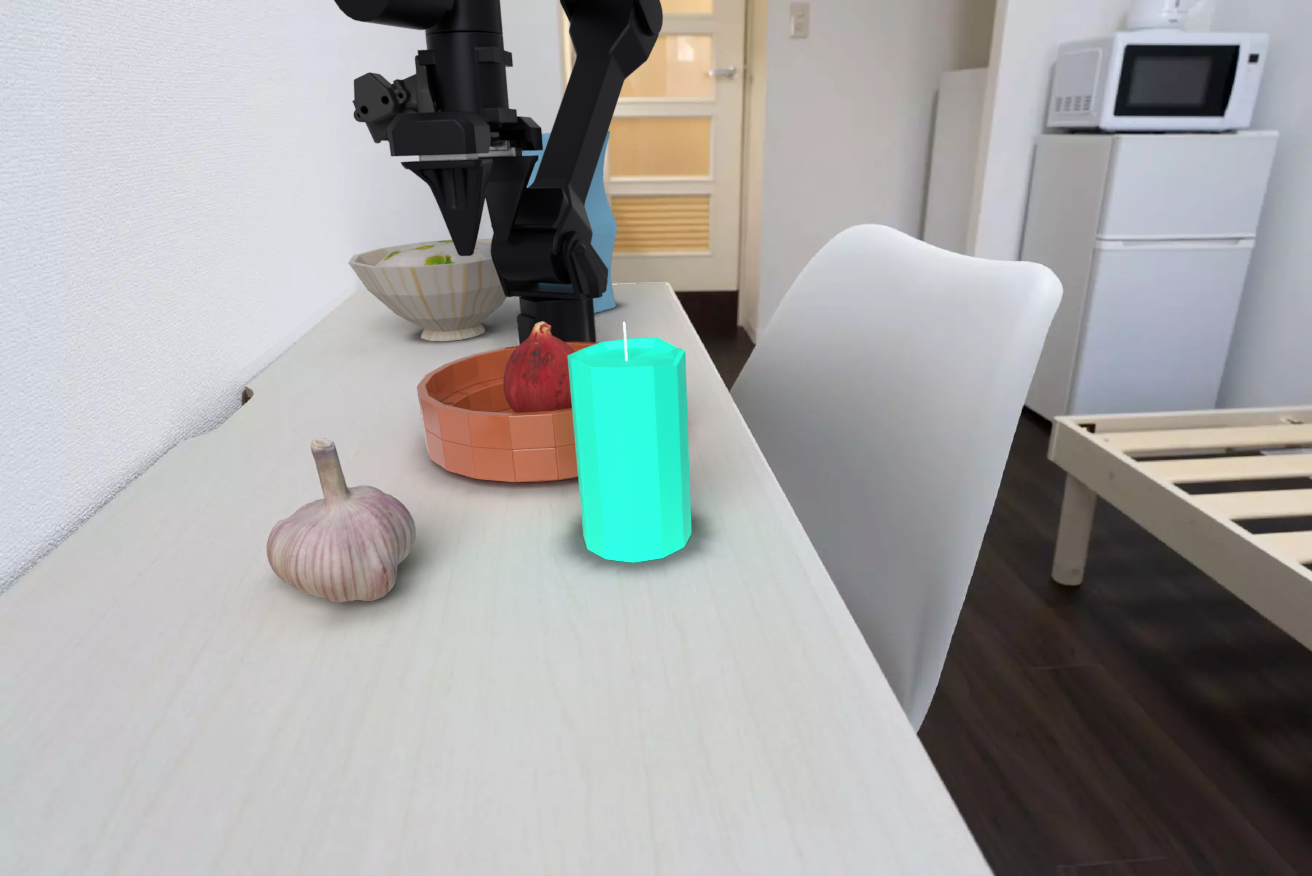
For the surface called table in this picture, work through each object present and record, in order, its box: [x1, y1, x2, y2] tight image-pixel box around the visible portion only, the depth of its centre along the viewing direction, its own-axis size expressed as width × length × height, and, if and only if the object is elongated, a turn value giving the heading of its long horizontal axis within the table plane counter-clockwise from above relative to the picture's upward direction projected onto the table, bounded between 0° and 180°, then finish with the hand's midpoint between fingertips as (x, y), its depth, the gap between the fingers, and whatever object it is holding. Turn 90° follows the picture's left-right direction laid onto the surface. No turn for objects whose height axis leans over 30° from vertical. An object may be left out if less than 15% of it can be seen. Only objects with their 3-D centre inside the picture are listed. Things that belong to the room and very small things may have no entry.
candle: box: [567, 321, 693, 563], centre depth 44 cm, size 6×6×12 cm
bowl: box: [347, 238, 508, 342], centre depth 90 cm, size 19×19×10 cm
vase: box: [522, 130, 618, 314], centre depth 97 cm, size 8×8×20 cm
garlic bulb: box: [266, 437, 417, 603], centre depth 41 cm, size 8×7×8 cm
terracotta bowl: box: [416, 341, 598, 483], centre depth 59 cm, size 17×17×5 cm
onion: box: [503, 321, 575, 413], centre depth 59 cm, size 6×6×8 cm
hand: (485, 248), depth 68 cm, fingers open, 9 cm apart
